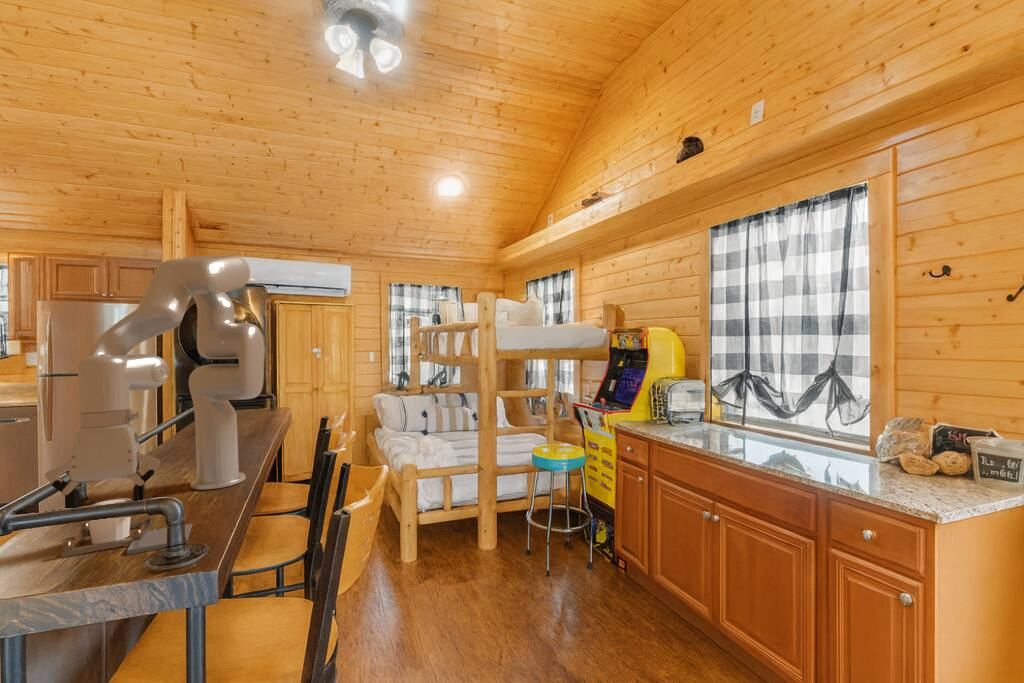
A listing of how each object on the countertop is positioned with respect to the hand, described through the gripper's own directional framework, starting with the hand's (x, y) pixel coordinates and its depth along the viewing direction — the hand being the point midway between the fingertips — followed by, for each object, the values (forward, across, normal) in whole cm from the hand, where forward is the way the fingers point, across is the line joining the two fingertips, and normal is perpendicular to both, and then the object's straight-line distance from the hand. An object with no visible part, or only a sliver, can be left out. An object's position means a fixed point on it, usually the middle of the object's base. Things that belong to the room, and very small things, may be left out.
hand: (106, 509), depth 94 cm
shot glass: (+6, 0, -1) cm, 6 cm away
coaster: (+6, -9, +5) cm, 12 cm away
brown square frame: (+6, 0, -1) cm, 6 cm away
